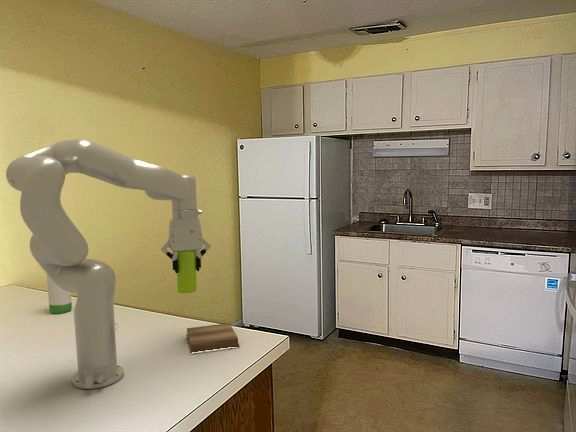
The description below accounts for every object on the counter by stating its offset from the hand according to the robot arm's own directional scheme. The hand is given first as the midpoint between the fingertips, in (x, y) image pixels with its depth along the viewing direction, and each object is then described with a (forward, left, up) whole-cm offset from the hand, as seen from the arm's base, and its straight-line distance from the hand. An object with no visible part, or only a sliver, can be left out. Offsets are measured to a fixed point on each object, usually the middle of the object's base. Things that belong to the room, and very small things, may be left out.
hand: (187, 270), depth 141 cm
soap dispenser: (0, 0, -7) cm, 7 cm away
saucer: (+19, +28, -23) cm, 41 cm away
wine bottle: (+46, +45, -23) cm, 68 cm away
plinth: (-5, -6, -23) cm, 24 cm away
